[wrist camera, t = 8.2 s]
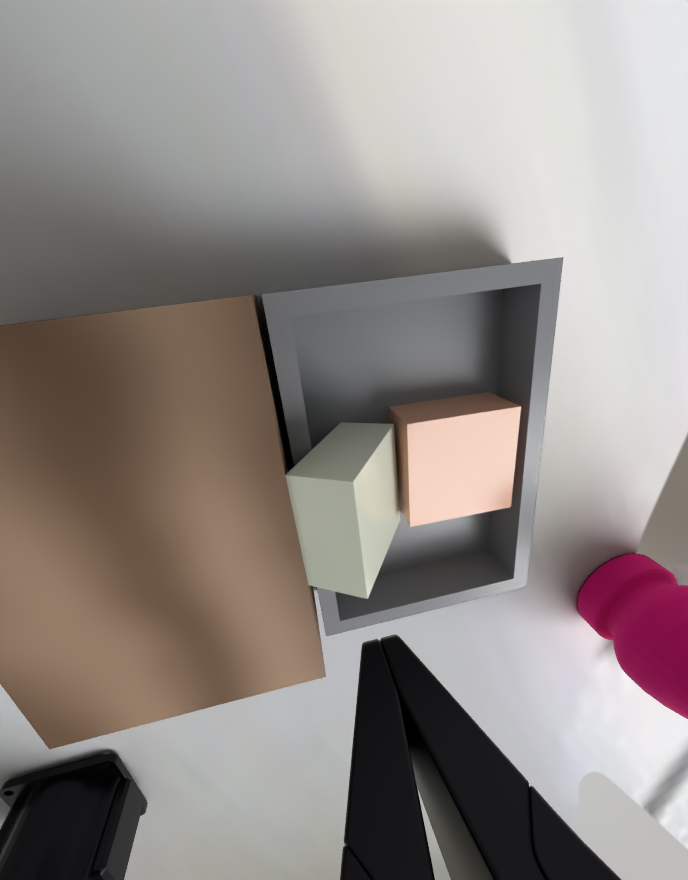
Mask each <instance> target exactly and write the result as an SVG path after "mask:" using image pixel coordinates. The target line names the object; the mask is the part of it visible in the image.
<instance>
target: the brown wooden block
mask: <svg viewBox="0 0 688 880" xmlns="http://www.w3.org/2000/svg"><path fill="white" fill-rule="evenodd" d="M289 471H290V467H289V462H288V457H287V452H286V447H285V442H284V437H283V431H282V426H281V421H280V416H279V411H278V406H277V401H276V396H275V390H274V385H273V380H272V375H271V370H270V365H269V360H268V355H267V349H266V344H265V339H264V334H263V329H262V324H261V319H260V314H259V308H258V303H257V298H256V296H253V295H247V296H238V297H230V298H222V299H214V300H206V301H197V302H189V303H181V304H173V305H165V306H157V307H148V308H140V309H132V310H124V311H116V312H108V313H99V314H91V315H83V316H75V317H67V318H59V319H50V320H42V321H34V322H26V323H18V324H10V325H1V326H0V684H1V685H2V687H3V688H4V689H5V691H6V692H7V693H8V695H9V696H10V697H11V699H12V700H13V701H14V703H15V704H16V705H17V707H18V708H19V709H20V711H21V712H22V713H23V715H24V716H25V717H26V719H27V720H28V721H29V723H30V724H31V725H32V727H33V728H34V729H35V731H36V732H37V733H38V735H39V736H40V737H41V739H42V740H43V741H44V743H45V744H46V745H47V747H48V748H49V749H52V748H56V747H60V746H64V745H68V744H71V743H75V742H79V741H83V740H87V739H90V738H94V737H98V736H102V735H106V734H109V733H113V732H117V731H121V730H125V729H128V728H132V727H136V726H140V725H144V724H147V723H151V722H155V721H159V720H163V719H166V718H170V717H174V716H178V715H182V714H185V713H189V712H193V711H197V710H201V709H204V708H208V707H212V706H216V705H220V704H224V703H227V702H231V701H235V700H239V699H243V698H246V697H250V696H254V695H258V694H262V693H265V692H269V691H273V690H277V689H281V688H284V687H288V686H292V685H296V684H300V683H303V682H307V681H311V680H315V679H319V678H322V677H326V674H325V667H324V660H323V653H322V646H321V639H320V632H319V625H318V618H317V611H316V604H315V597H314V590H313V586H309V585H308V582H307V577H306V572H305V567H304V563H303V558H302V553H301V548H300V543H299V538H298V534H297V529H296V524H295V519H294V514H293V509H292V505H291V500H290V495H289V490H288V485H287V481H286V476H285V475H286V474H287V473H288V472H289Z"/></svg>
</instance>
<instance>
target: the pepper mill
mask: <svg viewBox="0 0 688 880" xmlns="http://www.w3.org/2000/svg"><path fill="white" fill-rule="evenodd" d="M577 607H578V610H579V613H580V615H581V616H582V617H583V618H584V620H585V621H586V622H587V623H588V624H589V625H590V626H591V627H592V628H593V629H594V630H595V631H596V632H597V633H598V634H599V635H600V636H602V637H603V638H605V639H608V640H613V642H614V650H615V654H616V657H617V660H618V662H619V664H620V666H621V668H622V669H623V671H624V672H625V673H626V674H627V675H628V676H629V677H630V678H631V679H632V680H633V681H634V682H635V683H636V684H637V685H638V686H640V687H641V688H642V689H643V690H644V691H645V692H646V693H648V694H649V695H650V696H652V697H653V698H655V699H656V700H657V701H659V702H660V703H662V704H663V705H664V706H666V707H668V708H669V709H671V710H673V711H674V712H676V713H678V714H680V715H681V716H683V717H685V718H687V719H688V586H684V585H678V583H677V579H676V578H675V576H674V575H673V574H672V573H671V572H669V571H668V570H667V569H665V568H664V567H662V566H661V565H659V564H658V563H656V562H655V561H654V560H652V559H651V558H649V557H647V556H645V555H641V554H627V555H622V556H619V557H616V558H614V559H612V560H610V561H608V562H607V563H605V564H604V565H602V566H601V567H599V568H598V569H597V570H596V571H595V572H594V573H592V574H591V575H590V577H589V578H588V579H587V581H586V582H585V583H584V585H583V586H582V588H581V590H580V593H579V596H578V603H577Z"/></svg>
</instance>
